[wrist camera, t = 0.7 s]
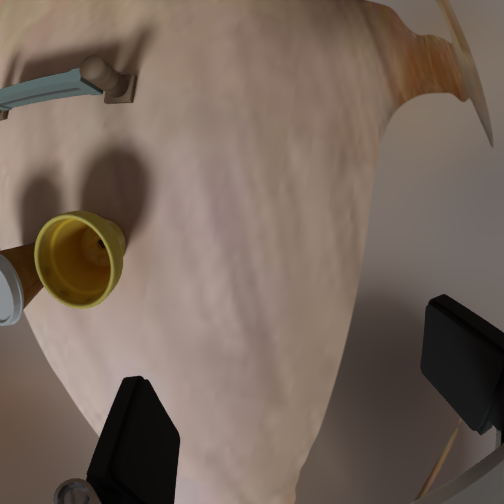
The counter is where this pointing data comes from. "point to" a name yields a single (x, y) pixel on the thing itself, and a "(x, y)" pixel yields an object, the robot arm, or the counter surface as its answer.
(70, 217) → the plant pot
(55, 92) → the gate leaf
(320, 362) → the counter surface
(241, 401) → the counter surface
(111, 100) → the gate posts
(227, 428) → the counter surface
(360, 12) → the counter surface
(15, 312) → the disposable coffee cup
